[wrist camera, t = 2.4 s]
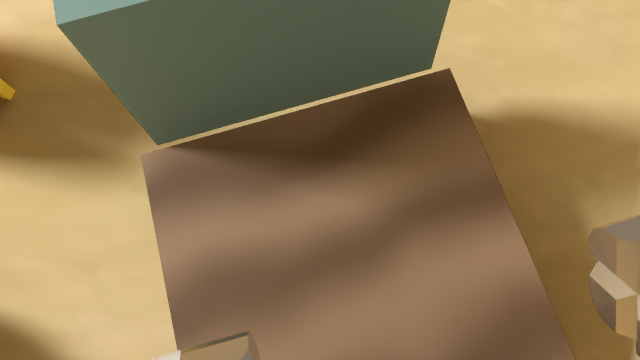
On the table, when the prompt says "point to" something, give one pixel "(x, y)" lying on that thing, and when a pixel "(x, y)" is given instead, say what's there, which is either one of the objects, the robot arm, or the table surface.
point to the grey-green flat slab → (245, 53)
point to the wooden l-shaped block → (350, 235)
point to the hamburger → (6, 90)
